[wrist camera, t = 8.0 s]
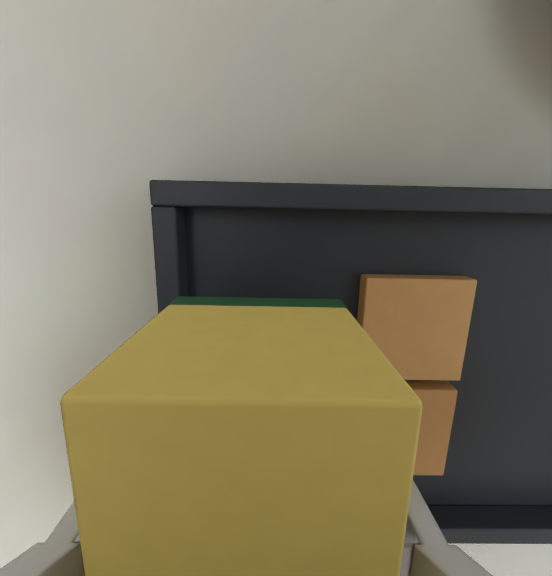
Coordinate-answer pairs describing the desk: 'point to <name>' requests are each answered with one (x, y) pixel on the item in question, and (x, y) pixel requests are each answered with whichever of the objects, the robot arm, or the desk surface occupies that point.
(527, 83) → the desk surface
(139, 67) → the desk surface
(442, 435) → the crumb
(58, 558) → the robot arm
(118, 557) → the sponge
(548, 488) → the tray
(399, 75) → the desk surface
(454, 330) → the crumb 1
